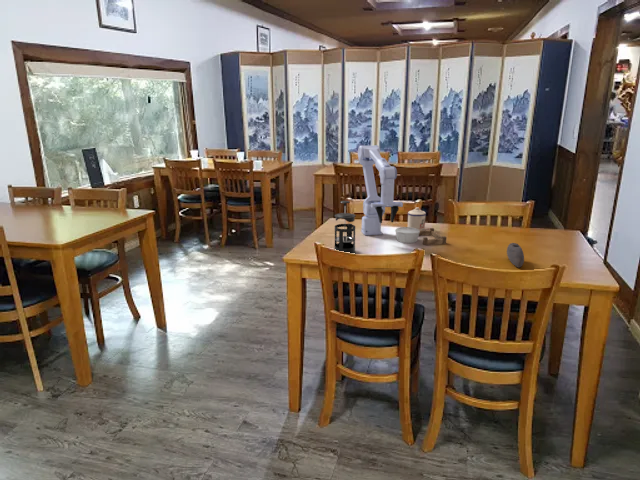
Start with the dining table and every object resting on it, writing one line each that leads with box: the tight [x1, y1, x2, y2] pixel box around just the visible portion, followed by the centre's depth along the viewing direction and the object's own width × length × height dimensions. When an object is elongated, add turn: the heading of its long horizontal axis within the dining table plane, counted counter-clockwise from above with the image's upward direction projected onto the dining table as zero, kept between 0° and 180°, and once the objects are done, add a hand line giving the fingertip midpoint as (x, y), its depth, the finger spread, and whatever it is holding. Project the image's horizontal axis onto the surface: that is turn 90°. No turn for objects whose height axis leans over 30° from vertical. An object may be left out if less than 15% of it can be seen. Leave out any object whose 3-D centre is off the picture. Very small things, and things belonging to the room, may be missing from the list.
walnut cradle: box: [418, 227, 448, 246], centre depth 211 cm, size 11×17×3 cm, turn 8°
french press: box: [334, 200, 357, 254], centre depth 190 cm, size 12×9×23 cm
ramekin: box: [394, 226, 420, 244], centre depth 209 cm, size 11×11×5 cm
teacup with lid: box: [407, 206, 427, 231], centre depth 228 cm, size 12×9×12 cm
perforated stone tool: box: [506, 242, 525, 268], centre depth 177 cm, size 15×5×7 cm, turn 167°
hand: (386, 222), depth 206 cm, fingers open, 5 cm apart
